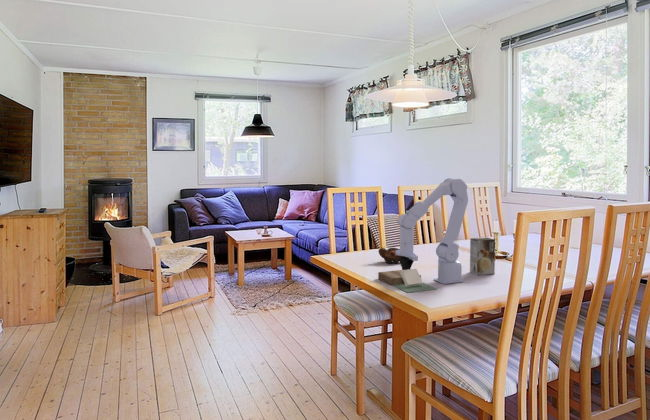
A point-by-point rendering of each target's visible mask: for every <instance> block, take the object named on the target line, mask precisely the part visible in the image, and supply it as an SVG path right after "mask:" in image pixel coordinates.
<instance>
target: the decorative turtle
mask: <svg viewBox="0 0 650 420" xmlns="http://www.w3.org/2000/svg"><path fill="white" fill-rule="evenodd" d="M396 250H400V248H397V247H389V248H387V249H386V248H385V247H381V248H379V249H378V254H379V256H380V257H381V258H382V259H383V260H384V262H385V261H386V263H387V264H388V263H389V264H391V263H392V262H393V263H395V264H400V262H399V260H398V258H401V256H399V255H396Z"/></svg>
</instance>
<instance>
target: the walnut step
mask: <svg viewBox="0 0 650 420" xmlns="http://www.w3.org/2000/svg"><path fill="white" fill-rule="evenodd" d="M401 271H402V269H397V270H388V271H379V272H378V273H377V275H378V277H377V279H378V280H380V281H381V282H383V283H386V284H388V285H390V286H392V285H395V284H404V281H403V278H402V276H401V274H400V272H401ZM419 275H420V278H421V279H422V275H421V274H419Z"/></svg>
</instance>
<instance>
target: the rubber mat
mask: <svg viewBox="0 0 650 420" xmlns="http://www.w3.org/2000/svg"><path fill="white" fill-rule="evenodd" d="M391 286H393V287H394V288H396V289H399V290H400V291H403V292H404V293H406V294H409V293H410V294H411V293H419V292H425V291H426V292H427V291H434V290H438V288H437V287H435V286H432V285H430V284H428V283H425V282H423V284H422V285H421V286H413V287H406V285H405V283H404V284H395V285H391Z"/></svg>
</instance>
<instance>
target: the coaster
mask: <svg viewBox="0 0 650 420" xmlns="http://www.w3.org/2000/svg"><path fill="white" fill-rule="evenodd" d="M401 270H402V269H401ZM400 274H401V276H402V278H403V281H404V283H405V285H406V287H413V286H421V285H422V284H423V283H424V282H423V280H422V277H421V278H420V275H421V274H420V273H419V271H418V269H417V268H411V269H408V270H402V271H401V272H400Z"/></svg>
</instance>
